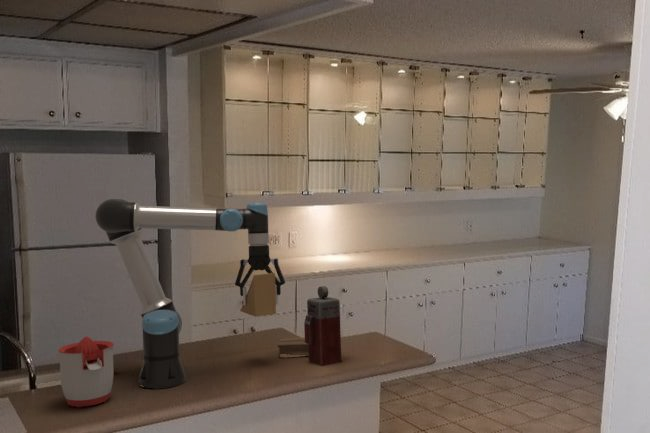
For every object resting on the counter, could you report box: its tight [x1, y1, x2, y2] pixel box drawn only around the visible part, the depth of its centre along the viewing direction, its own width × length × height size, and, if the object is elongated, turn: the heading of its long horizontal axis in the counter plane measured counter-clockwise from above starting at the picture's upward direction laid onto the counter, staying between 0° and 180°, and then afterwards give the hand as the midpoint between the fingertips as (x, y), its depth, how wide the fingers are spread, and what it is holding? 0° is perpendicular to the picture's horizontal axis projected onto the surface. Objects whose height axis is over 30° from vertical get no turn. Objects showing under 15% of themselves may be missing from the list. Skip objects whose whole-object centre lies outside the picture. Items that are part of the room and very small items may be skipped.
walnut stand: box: [277, 337, 309, 356], centre depth 233 cm, size 12×19×5 cm, turn 90°
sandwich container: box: [239, 272, 277, 317], centre depth 220 cm, size 9×15×15 cm, turn 29°
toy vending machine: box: [303, 285, 342, 367], centre depth 219 cm, size 9×11×28 cm
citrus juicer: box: [57, 336, 114, 408], centre depth 180 cm, size 16×17×20 cm
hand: (260, 304), depth 218 cm, fingers closed on sandwich container, 11 cm apart
